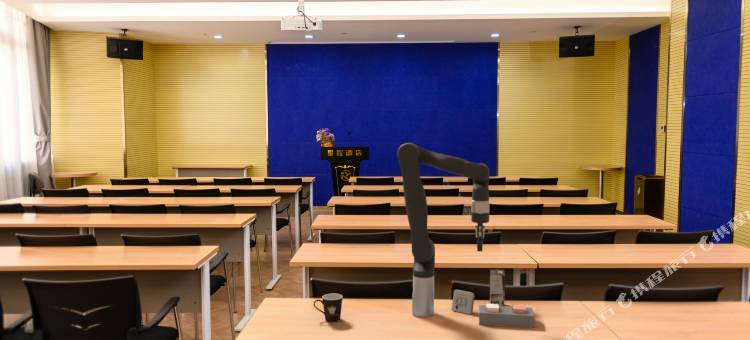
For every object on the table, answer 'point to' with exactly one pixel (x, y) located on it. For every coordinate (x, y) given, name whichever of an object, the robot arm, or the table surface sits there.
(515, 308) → the key terracotta
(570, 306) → the table surface
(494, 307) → the key white
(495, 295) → the coffee box
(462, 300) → the electrical switch
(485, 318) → the grey long rectangular block
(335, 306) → the coffee mug
